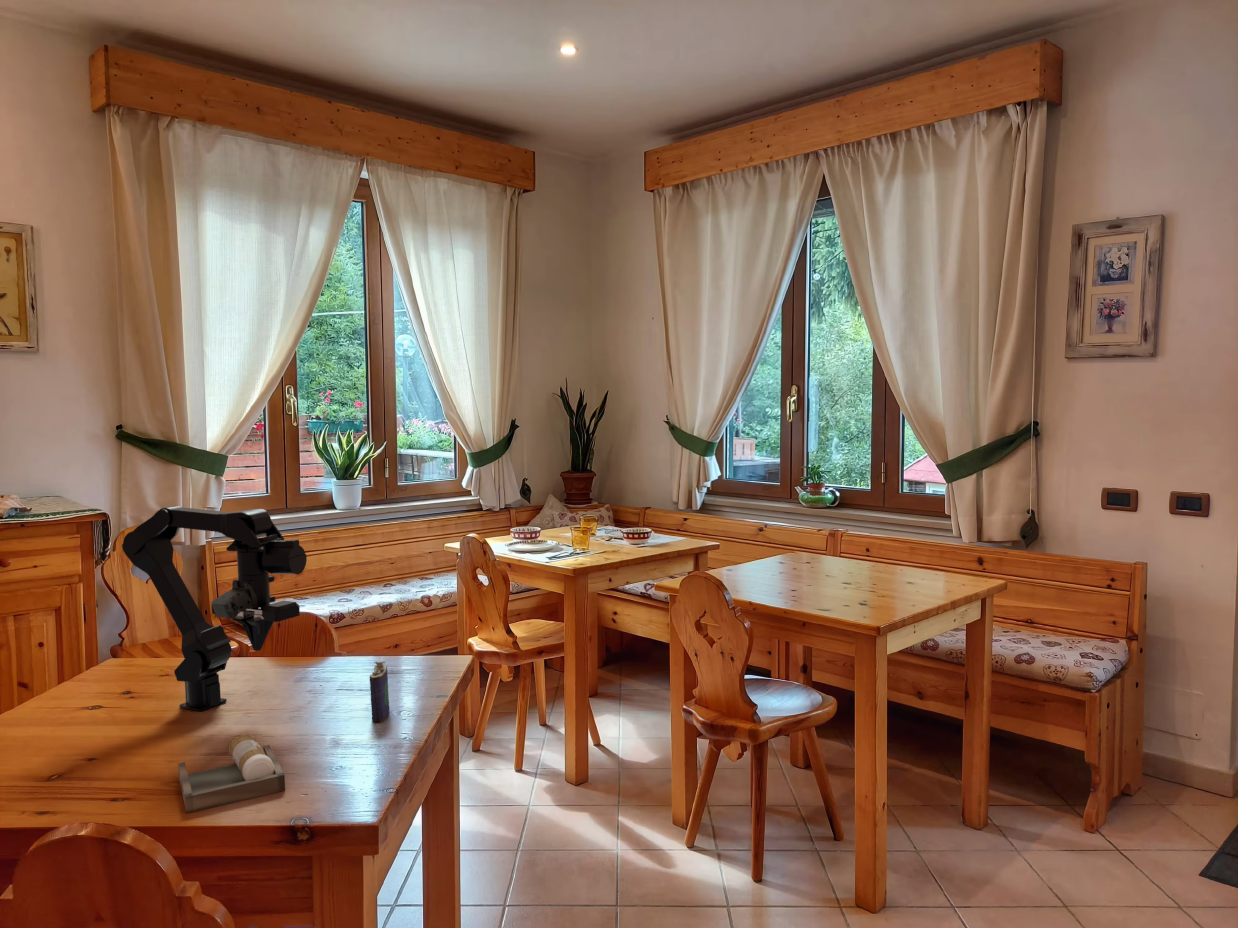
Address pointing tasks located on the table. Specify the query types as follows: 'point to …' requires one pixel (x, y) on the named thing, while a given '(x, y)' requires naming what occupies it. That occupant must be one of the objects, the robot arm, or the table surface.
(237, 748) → the sprinkles bottle
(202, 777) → the tray
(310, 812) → the table surface
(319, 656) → the table surface
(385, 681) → the flask
